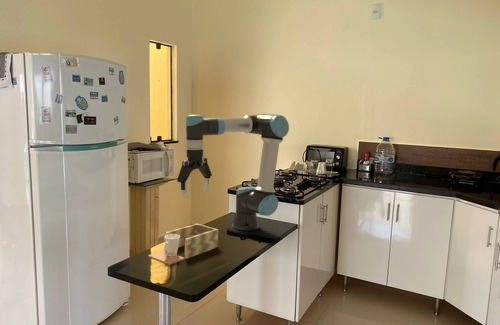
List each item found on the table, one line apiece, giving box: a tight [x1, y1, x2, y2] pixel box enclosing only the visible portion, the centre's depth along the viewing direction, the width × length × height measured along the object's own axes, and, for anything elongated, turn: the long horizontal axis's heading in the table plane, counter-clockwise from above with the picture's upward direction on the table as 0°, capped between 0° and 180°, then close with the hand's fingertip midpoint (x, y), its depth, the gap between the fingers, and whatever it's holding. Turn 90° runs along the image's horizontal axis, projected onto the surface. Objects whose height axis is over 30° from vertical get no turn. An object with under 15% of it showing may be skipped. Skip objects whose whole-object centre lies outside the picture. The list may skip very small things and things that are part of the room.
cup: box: [163, 234, 180, 256], centre depth 167 cm, size 7×10×8 cm
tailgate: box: [147, 249, 186, 266], centre depth 166 cm, size 1×14×9 cm
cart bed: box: [164, 223, 219, 260], centre depth 178 cm, size 20×14×10 cm
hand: (195, 194), depth 179 cm, fingers open, 13 cm apart
